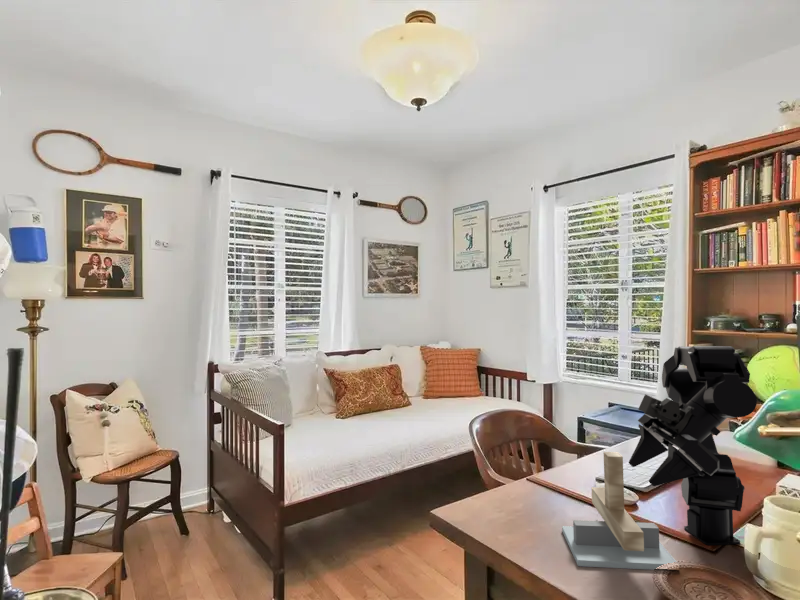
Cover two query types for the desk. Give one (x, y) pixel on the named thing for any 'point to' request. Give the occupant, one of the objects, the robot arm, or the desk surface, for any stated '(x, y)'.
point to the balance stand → (613, 547)
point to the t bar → (617, 505)
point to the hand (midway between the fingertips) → (640, 474)
